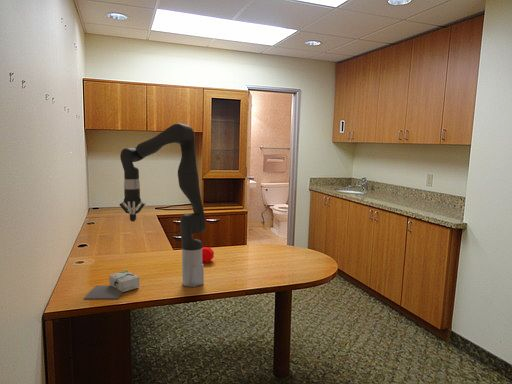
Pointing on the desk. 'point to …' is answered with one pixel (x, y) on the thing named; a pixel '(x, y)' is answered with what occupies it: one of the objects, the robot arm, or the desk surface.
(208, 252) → the ball
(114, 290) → the charcoal mat
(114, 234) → the desk surface
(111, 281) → the ink box
